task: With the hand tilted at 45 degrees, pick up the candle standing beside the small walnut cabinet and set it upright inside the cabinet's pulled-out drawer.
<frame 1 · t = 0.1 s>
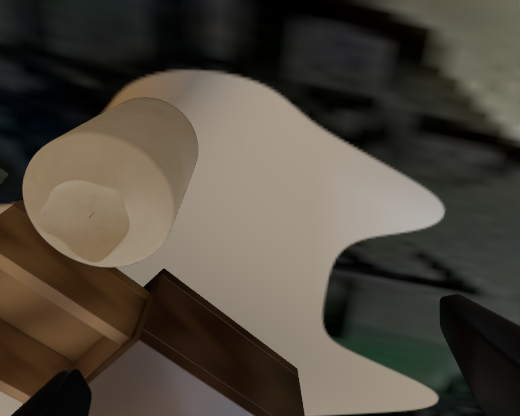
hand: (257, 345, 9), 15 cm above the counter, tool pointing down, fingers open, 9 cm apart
drawer: (10, 295, 22), point 3 cm above the counter, slide at 10.5 cm
candle: (152, 144, 22), on the counter
cabinet: (185, 362, 29), on the counter
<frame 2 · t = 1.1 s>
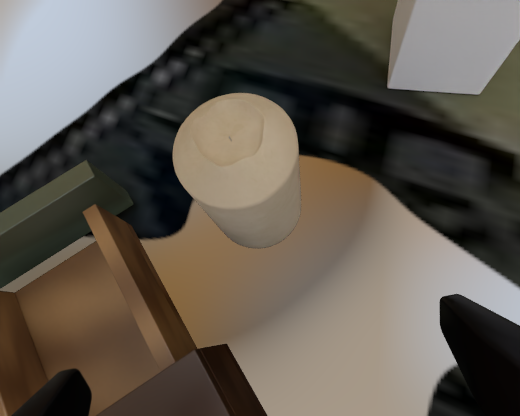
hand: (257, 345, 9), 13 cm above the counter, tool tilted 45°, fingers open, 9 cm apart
drawer: (71, 303, 20), point 3 cm above the counter, slide at 10.5 cm
milk: (432, 57, 26), on the counter
candle: (259, 208, 24), on the counter
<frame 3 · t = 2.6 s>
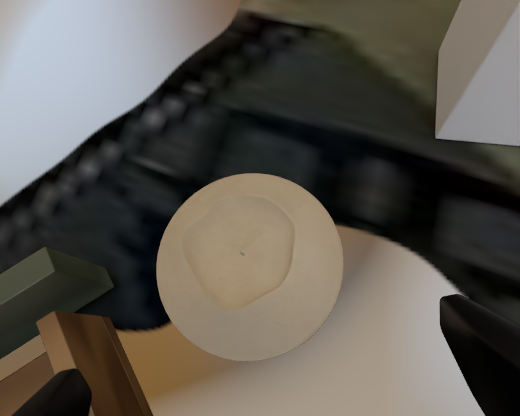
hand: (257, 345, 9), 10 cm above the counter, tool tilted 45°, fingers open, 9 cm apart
milk: (490, 99, 21), on the counter
candle: (274, 293, 19), on the counter
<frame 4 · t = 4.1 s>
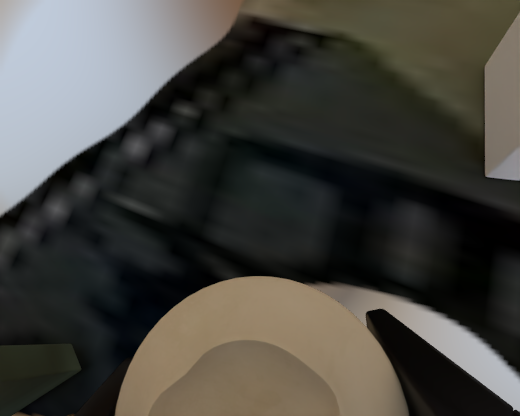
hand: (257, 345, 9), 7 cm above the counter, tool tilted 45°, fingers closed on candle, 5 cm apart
candle: (285, 378, 15), on the counter, touching gripper
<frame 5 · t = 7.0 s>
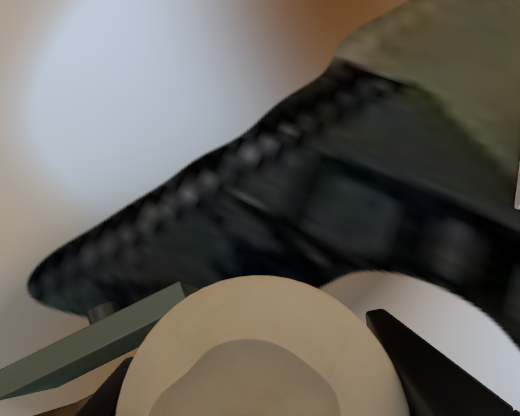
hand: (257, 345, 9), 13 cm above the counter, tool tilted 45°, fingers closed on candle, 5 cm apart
candle: (285, 377, 15), point 6 cm above the counter, touching gripper
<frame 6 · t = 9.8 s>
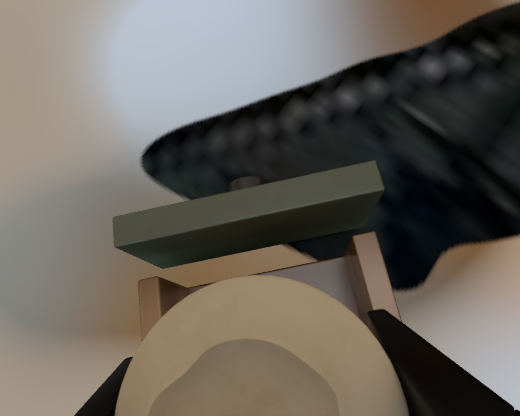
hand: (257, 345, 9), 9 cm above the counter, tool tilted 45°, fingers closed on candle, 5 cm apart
drawer: (276, 348, 14), point 3 cm above the counter, slide at 10.7 cm, touching candle
candle: (285, 377, 15), point 2 cm above the counter, touching drawer, gripper
when the fingers open (9 cm above the counter, at t = 10.0 s): candle stays where it is, resting on drawer.
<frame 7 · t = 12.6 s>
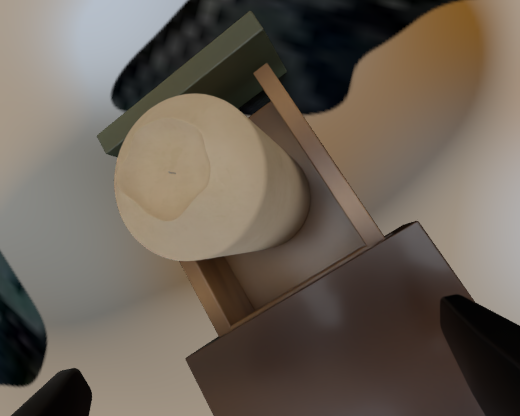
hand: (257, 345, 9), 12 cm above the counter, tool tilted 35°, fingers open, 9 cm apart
drawer: (242, 178, 19), point 3 cm above the counter, slide at 10.7 cm, touching candle
candle: (262, 198, 21), point 2 cm above the counter, touching drawer
cabinet: (386, 389, 20), on the counter
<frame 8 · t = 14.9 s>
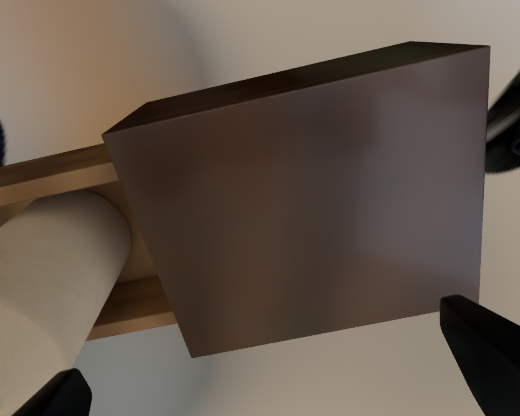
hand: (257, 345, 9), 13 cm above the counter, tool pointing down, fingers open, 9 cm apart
drawer: (48, 251, 19), point 3 cm above the counter, slide at 10.7 cm, touching candle
candle: (81, 232, 20), point 2 cm above the counter, touching drawer
cabinet: (294, 174, 21), on the counter
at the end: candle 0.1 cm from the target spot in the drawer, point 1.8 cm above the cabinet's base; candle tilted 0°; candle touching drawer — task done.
